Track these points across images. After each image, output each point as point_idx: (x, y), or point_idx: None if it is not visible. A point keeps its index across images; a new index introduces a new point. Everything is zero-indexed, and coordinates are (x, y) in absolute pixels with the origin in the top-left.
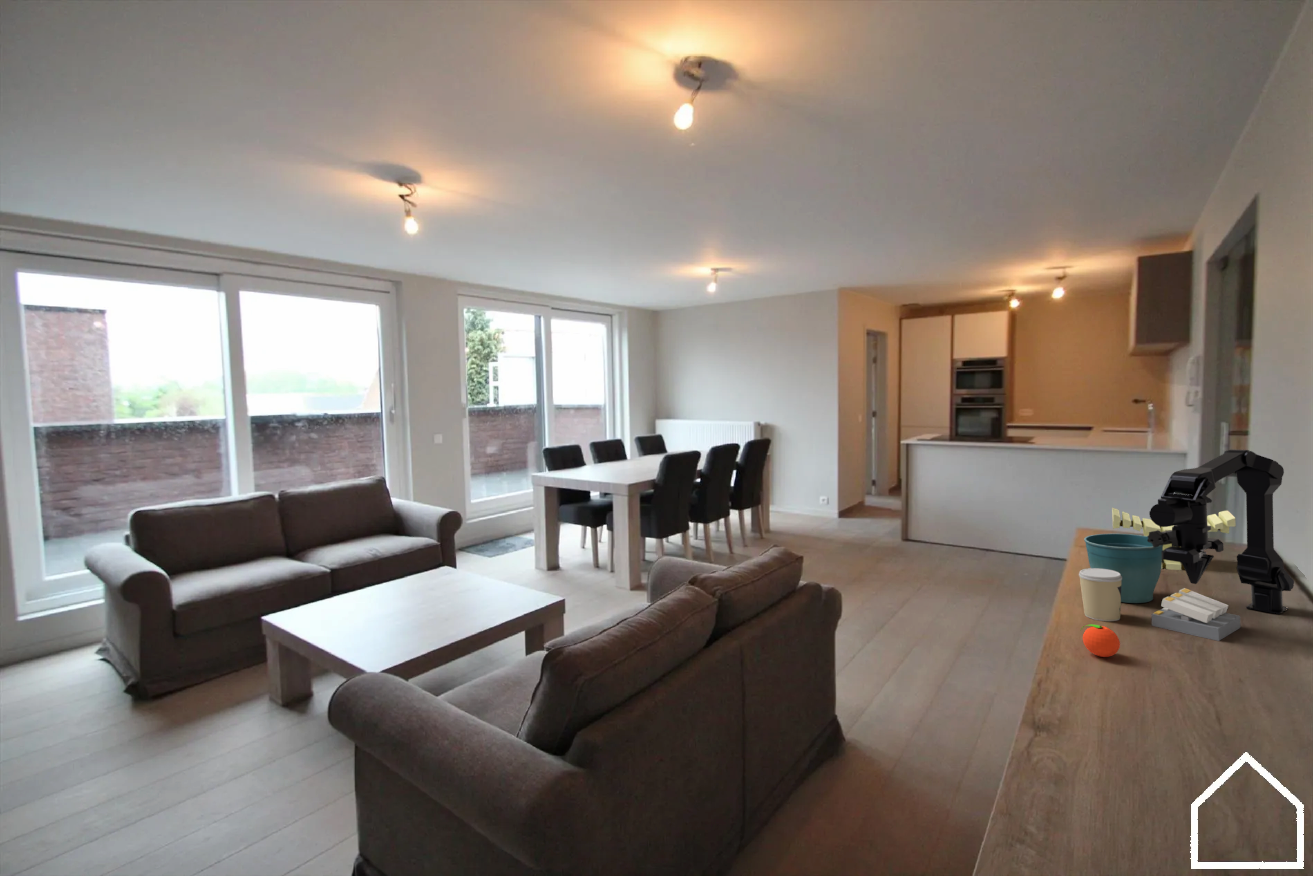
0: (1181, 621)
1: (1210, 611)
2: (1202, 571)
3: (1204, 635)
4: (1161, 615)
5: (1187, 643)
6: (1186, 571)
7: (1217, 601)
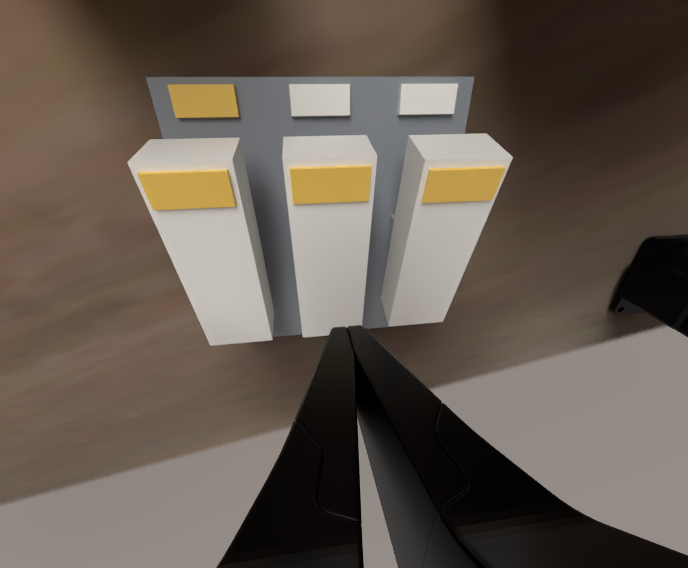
0: None
1: (270, 333)
2: (379, 491)
3: None
4: (177, 131)
5: (106, 269)
6: (297, 417)
7: (446, 297)
